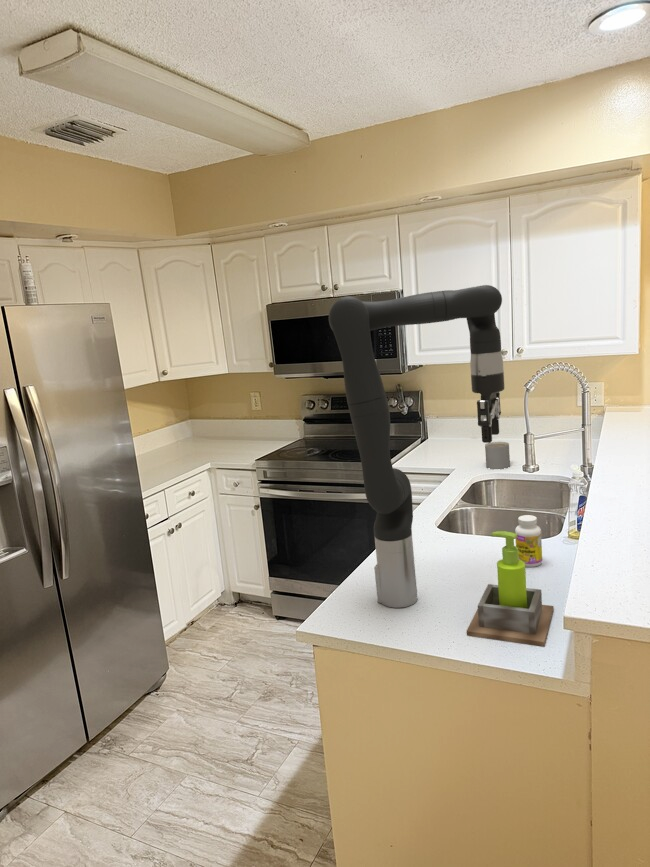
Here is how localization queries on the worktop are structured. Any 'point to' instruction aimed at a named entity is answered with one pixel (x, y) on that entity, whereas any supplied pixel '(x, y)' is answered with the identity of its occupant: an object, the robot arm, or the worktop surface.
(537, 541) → the supplement bottle
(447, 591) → the worktop surface
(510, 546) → the soap dispenser
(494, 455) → the coffee mug
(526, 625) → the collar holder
